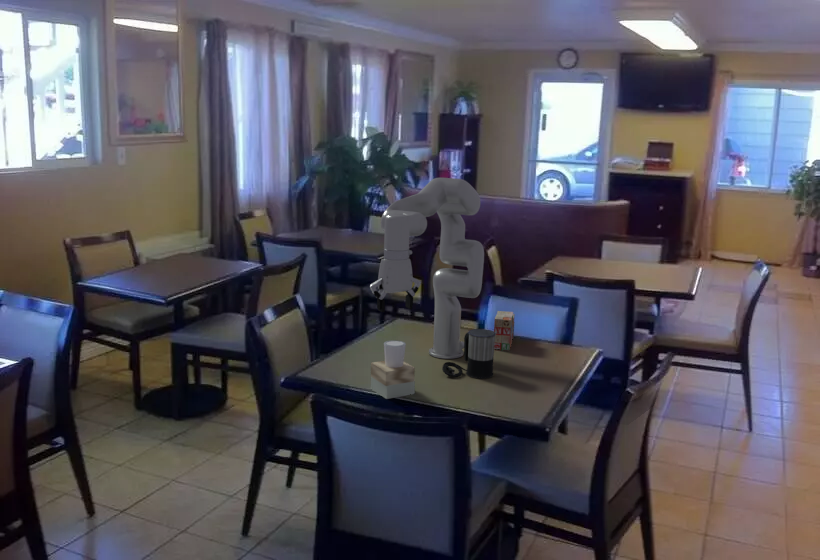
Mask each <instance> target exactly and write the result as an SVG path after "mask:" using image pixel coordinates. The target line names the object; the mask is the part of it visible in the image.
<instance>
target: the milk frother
mask: <svg viewBox="0 0 820 560" xmlns="http://www.w3.org/2000/svg"><path fill="white" fill-rule="evenodd" d="M495 335H496V333H495V332H494V330H490V329H486V328H473V329H470V330H468V331H467V332H466V333H465V334H464V338H463V339H464V340H463V342H464V348H463V349H464V350H463V358H464V359H463V360H464V361H466V362H467V366H466V369H465V368H463V367H462V366H460V365H459V364H457V363H455V362H453V361H446V362H444V363H443V365H442V372H443V373H444V374H445V375H446V376H448V377H452V378H458V377H461V376H462V375H463V371H465V374H466V375H467V376H468V377H471V378H474V379H490V378H492V377H493V376H494V355H495V354H494V353H495V350H494V344H495ZM452 367H453V368H455V369H457V371H458V373H455V369H453V368H452Z"/></svg>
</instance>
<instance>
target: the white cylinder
mask: <svg viewBox="0 0 820 560" xmlns="http://www.w3.org/2000/svg"><path fill="white" fill-rule="evenodd" d="M383 349H384V350H383V351H384V361H385V365H386V366H387V367H392V368H397V367H402V366H403V362H405V354H406V353H405V352H406V342H405V341H401V340H394V339H393V340H392V339H391V340H386V341H384V342H383Z"/></svg>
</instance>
